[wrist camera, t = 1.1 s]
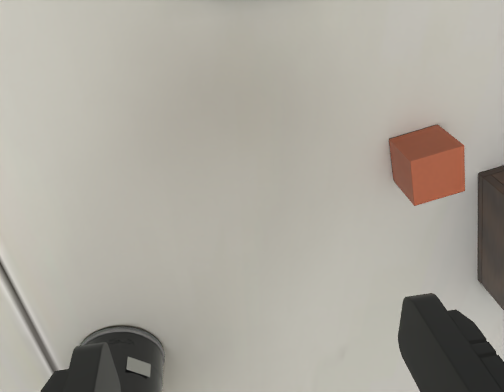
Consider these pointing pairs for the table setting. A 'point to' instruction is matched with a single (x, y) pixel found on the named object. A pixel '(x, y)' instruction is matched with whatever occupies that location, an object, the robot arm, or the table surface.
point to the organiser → (491, 232)
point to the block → (428, 164)
